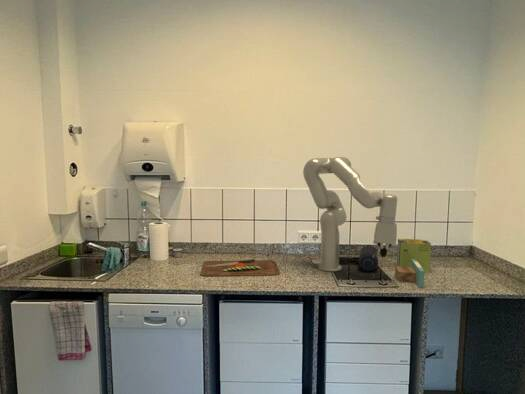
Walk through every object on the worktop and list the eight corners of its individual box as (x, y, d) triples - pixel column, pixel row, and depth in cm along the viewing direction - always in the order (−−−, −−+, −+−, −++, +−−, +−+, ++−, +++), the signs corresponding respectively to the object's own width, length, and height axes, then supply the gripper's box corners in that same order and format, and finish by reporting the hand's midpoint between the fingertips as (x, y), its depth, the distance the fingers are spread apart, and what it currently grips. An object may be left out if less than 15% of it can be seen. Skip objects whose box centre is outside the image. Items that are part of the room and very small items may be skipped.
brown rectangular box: (398, 282, 192) (398, 271, 191) (395, 275, 202) (395, 266, 201) (415, 283, 191) (416, 273, 190) (411, 276, 200) (412, 267, 200)
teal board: (419, 287, 183) (420, 270, 183) (410, 274, 203) (411, 259, 202) (423, 287, 183) (424, 270, 182) (414, 274, 203) (415, 259, 202)
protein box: (429, 273, 207) (431, 243, 205) (398, 271, 210) (400, 242, 208) (425, 267, 217) (427, 239, 215) (396, 265, 220) (397, 238, 218)
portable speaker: (377, 274, 204) (378, 255, 203) (357, 272, 207) (358, 253, 206) (378, 261, 228) (378, 244, 227) (360, 260, 231) (360, 243, 230)
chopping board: (194, 278, 196) (194, 272, 196) (199, 263, 223) (199, 257, 222) (285, 276, 200) (285, 270, 199) (278, 262, 226) (278, 257, 226)
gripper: (371, 219, 190) (368, 256, 193) (404, 222, 188) (400, 260, 190) (370, 217, 197) (366, 252, 200) (401, 219, 195) (397, 255, 198)
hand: (383, 256), depth 195 cm, fingers closed
